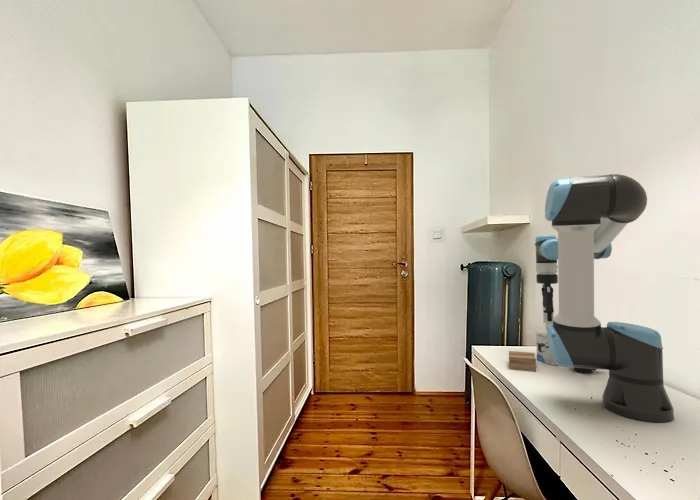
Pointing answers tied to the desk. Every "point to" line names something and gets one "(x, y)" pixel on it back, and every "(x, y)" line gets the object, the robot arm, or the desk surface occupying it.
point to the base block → (522, 361)
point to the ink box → (543, 348)
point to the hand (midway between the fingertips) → (548, 326)
